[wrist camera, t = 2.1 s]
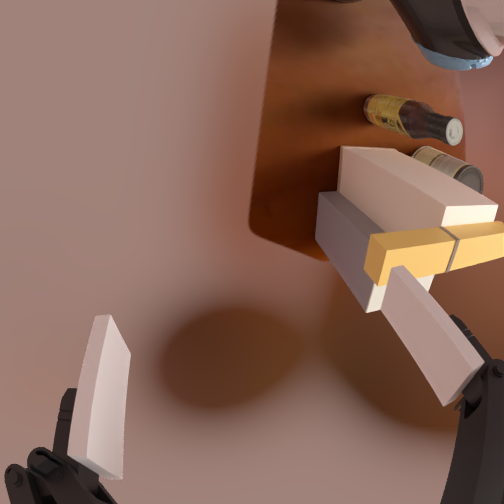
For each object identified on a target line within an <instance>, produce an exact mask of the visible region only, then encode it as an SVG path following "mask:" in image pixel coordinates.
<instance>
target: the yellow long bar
mask: <svg viewBox="0 0 504 504" xmlns="http://www.w3.org/2000/svg"><path fill="white" fill-rule="evenodd" d="M500 257H504V223H502V222H501V221H494V222H484V223H474V224H464V225H454V226H444V227H443V226H441V227H435V228H425V229H415V230H406V231H396V232H387V233H377V234H370V239H369V245H368V249H367V254H366V259H365V264H364V268H363V269H364V270H365V272H366V273H367V274H368V275H369V277H370V278H371V279H372V280H373V282H374V283H375V284H376V286H377V287H379V286H384V285H387V282H388V279H389V274H390V270H391V268H392V267H397V266H401V265H404V267H405V268H406V269H407V270H408V271H409V272H410V273H411V274H412V275H413V276H414V277H415V278H416V279H417V278H421V277H425V276H430V275H434V274H438V273H443V272H449V271H451V270H455V269H458V268H462V267H467V266H471V265H475V264H478V263H482V262H486V261H489V260H493V259H497V258H500Z"/></svg>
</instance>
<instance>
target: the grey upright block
mask: <svg viewBox="0 0 504 504" xmlns="http://www.w3.org/2000/svg"><path fill="white" fill-rule="evenodd" d="M377 233H385V232H384V231H383V230H382V229H381V228H380V227H379V226H378V225H377V224H375V223H374V222H373V221H372V220H371V219H370V218H369V217H368V216H366V215H365V214H364V213H363V212H362V211H361V210H360V209H358V208H357V207H356V206H355V205H354V204H352V203H351V202H350V201H349V200H348V199H347V198H345V197H344V196H343V195H342V194H341V193H338V192H337V191H331V192H319V197H318V210H317V221H316V232H315V240H316V241H317V243H318V244H319V246H320V247H321V248H322V250H323V251H324V252H325V254H326V255H327V257H328V258H329V259H330V261H331V262H332V264H333V265H334V266H335V268H336V269H337V271H338V272H339V273H340V275H341V276H342V278H343V279H344V281H345V282H346V284H347V285H348V287H349V288H350V289H351V291H352V292H353V294H354V295H355V297H356V298H357V300H358V301H359V303H360V304H361V306H362V307H363V309H364V310H365V312H366V313H368V312H372V311H376V310H380V308H381V305H382V301H383V298H384V294H385V290H386V286H387V285H384V286H379V287H377V286H376V284H375V283H374V282H373V280H372V279H371V278H370V277H369V275H368V274H367V273H366V272H365V270H364V269H363V268H364V264H365V259H366V254H367V249H368V245H369V239H370V234H377ZM434 275H435V274H434ZM434 275H430V276H425V277H421V278H417V280H418V282H419V283H420V284H421V285H422V286H423V287H424V288H425V289H426V290H427V292H428V291H429V288H430V285H431V283H432V280H433V277H434Z"/></svg>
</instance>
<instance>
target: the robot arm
mask: <svg viewBox="0 0 504 504" xmlns="http://www.w3.org/2000/svg"><path fill="white" fill-rule="evenodd" d="M334 1H337V2H342V3H354V2H358V1H361V0H334ZM390 2H391V3H392V5H393V6H394V8H395V9H396V11H397V12H398V14H399V15H400V17H401V18H402V20H403V22H404V23H405V25H406V27H407V28H408V30H409V32H410V33H411V37H412V39H413V41H414V42H415V44H417V45H418V47H419V49H420V50H421V52H422V54H423V56H424V57H425V58H426V59H427V60H428V61H429V62H430V63H432V64H434V65H436V66H438V67H441V68H445V69H451V70H470V68H476V69H478V68H482V67H485V66H487V65H488V64H489V63H490V62H491V61H492V59H493V56H498V55H500V53H501V51H502V50H503V48H504V0H390ZM380 310H381V311H382V312H383V314H384V315H385V317H386V318H387V320H388V321H389V322H390V324H391V325H392V326H393V328H394V330H395V331H396V333H397V334H398V336H399V337H400V338H401V340H402V342H403V343H404V345H405V346H406V347H407V349H408V351H409V352H410V354H411V355H412V357H413V358H414V360H415V361H416V363H417V364H418V366H419V368H420V369H421V371H422V372H423V374H424V375H425V377H426V378H427V380H428V382H429V383H430V385H431V387H432V388H433V390H434V392H435V393H436V395H437V397H438V398H439V400H440V402H441V403H442V405H443V406H445V405H447V404H448V403H450V402H452V401H454V400H455V399H456V398H457V397H458V396H459V395H460V393H461V392H462V393H463V395H464V396H463V398H462V399H461V400H460V401H459V402H458V403H457V405H456V406H455V409H454V410H457V409H458V407H459V406H460V405H461V408H460V409H459V411H460V417H459V425H458V431H457V437H456V443H455V448H454V453H453V458H452V462H451V467H450V471H449V475H448V479H447V482H446V486H445V490H444V493H443V496H442V500H441V503H440V504H504V361H502V360H500V359H494V360H493V359H492V358H491V357H490V356H489V354H488V353H487V352H486V350H485V349H484V348H483V347H482V345H481V344H480V343H479V342H478V340H477V339H476V338H475V337H474V336H473V334H472V333H471V332H470V330H468V328H467V327H466V326H465V324H464V323H463V322H462V321H461V320H460V319H459V318H457V317H455V316H454V315H450V316H448V315H447V314H446V312H445V311H444V310H443V309H442V308H441V307H440V305H439V304H438V303H437V302H436V301H435V300H434V298H433V297H432V296H431V295H430V294H429V293H428V292H427V290H426V289H425V288H424V287H423V286H422V285H421V284H420V283H419V282H418V280H417V279H416V278H415V277H414V276H413V275H412V274H411V273H410V272H409V271H408V270H407V269H406V268H405V267H404V265H401V266H397V267H392V268H391V270H390V274H389V279H388V282H387V286H386V290H385V294H384V298H383V301H382V305H381V308H380ZM130 356H131V354H130V352H129V350H128V348H127V346H126V344H125V342H124V340H123V339H122V337H121V335H120V333H119V331H118V329H117V327H116V325H115V323H114V321H113V319H112V316H111V315H101V316H96V317H95V320H94V324H93V327H92V331H91V335H90V338H89V342H88V345H87V349H86V353H85V357H84V361H83V366H82V370H81V375H80V379H79V384H78V388H77V389H76V388H68V389H67V391H66V392H65V394H64V396H63V397H62V400H61V404H60V412H59V414H58V421H57V426H56V431H55V438H54V444H53V451H52V452H51V451H50V450H48V449H46V448H44V447H38V448H35V449H33V451H31V453H30V454H29V456H28V459H27V466H28V468H26V469H25V468H23V467H22V466H20V465H18V464H11V465H10V466H8V468H7V469H6V471H5V484H6V487H7V491H8V495H9V499H10V502H11V504H117V503H116V501H115V500H114V499H113V498H112V496H111V495H110V494H109V493H108V492H107V490H106V489H105V488H104V486H103V485H102V484H101V483H100V482H99V479H98V478H99V475H100V476H102V477H103V478H105V479H114V480H123V441H124V420H125V406H126V393H127V383H128V373H129V364H130Z"/></svg>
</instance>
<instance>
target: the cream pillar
mask: <svg viewBox="0 0 504 504" xmlns="http://www.w3.org/2000/svg"><path fill="white" fill-rule="evenodd" d="M396 150H397V149H394V148H381V147H362V146H340V160H339V172H338V184H337V192H338V193H341V194H342V195H343V196H344V197H345V198H347V199H348V200H349V201H350V202H351V203H352V204H354V205H355V206H356V207H357V208H358V209H360V210H361V211H362V212H363V213H364V214H365V215H366V216H368V217H369V218H370V219H371V220H372V221H373V222H374V223H375V224H377V225H378V226H379V227H380V228H381V229H382V230H383V231H384V232H385V233H387V232H396V231H406V230H415V229H425V228H435V227H441V226H443V227H444V226H454V225H464V224H474V223H484V222H494V218H495V215H496V211H497V208H498V204H496V203H494V202H493V201H491V200H489V199H488V198H486V197H485V196H483V195H481V194H480V193H478V192H476V191H475V190H473V189H471V188H470V187H468V186H466V185H464V184H463V183H461V182H459V181H457V180H455V179H453V178H452V177H450V176H448V175H446V174H444V173H442V172H440V171H438V170H436V169H434V168H432V167H430V166H428V165H426V164H424V163H422V162H420V161H418V160H416V159H414V158H412V157H409V156H407V155H405V154H403V153H401V152H398V151H396Z"/></svg>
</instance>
